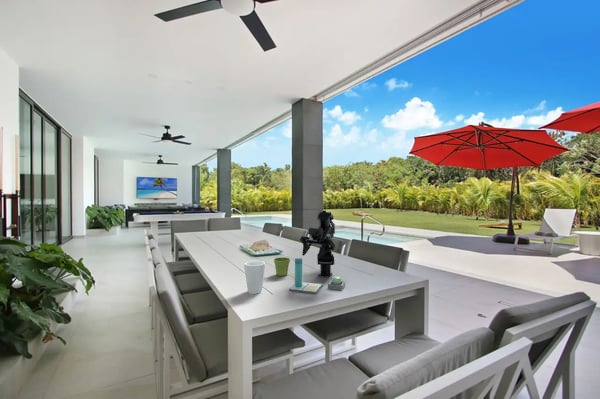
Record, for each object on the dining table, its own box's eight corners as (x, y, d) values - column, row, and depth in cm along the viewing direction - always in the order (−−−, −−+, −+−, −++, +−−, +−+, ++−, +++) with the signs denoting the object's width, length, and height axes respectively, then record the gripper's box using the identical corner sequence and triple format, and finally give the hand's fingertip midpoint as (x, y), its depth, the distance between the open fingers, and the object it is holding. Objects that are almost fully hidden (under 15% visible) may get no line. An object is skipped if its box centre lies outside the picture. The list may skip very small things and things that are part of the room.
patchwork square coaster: (298, 283, 142) (298, 280, 142) (323, 285, 138) (323, 283, 138) (288, 291, 130) (288, 289, 130) (315, 294, 126) (315, 292, 126)
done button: (333, 281, 140) (333, 276, 140) (342, 282, 138) (342, 276, 138) (331, 284, 135) (331, 278, 135) (340, 285, 134) (340, 279, 134)
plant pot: (290, 277, 153) (289, 261, 152) (272, 277, 153) (272, 261, 153) (290, 272, 162) (290, 257, 162) (274, 272, 162) (274, 257, 162)
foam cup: (250, 296, 124) (249, 266, 124) (241, 290, 131) (240, 262, 131) (269, 292, 129) (268, 263, 129) (259, 286, 137) (259, 259, 137)
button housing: (331, 283, 141) (331, 279, 141) (345, 285, 139) (345, 281, 139) (327, 288, 135) (327, 284, 135) (342, 289, 132) (342, 285, 132)
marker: (295, 284, 136) (295, 257, 136) (303, 285, 136) (303, 258, 135) (294, 287, 133) (294, 259, 133) (301, 287, 132) (301, 259, 132)
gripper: (301, 220, 150) (288, 244, 142) (331, 222, 138) (319, 249, 130) (310, 233, 156) (298, 257, 148) (340, 236, 145) (328, 262, 136)
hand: (310, 256), depth 141 cm, fingers open, 9 cm apart
